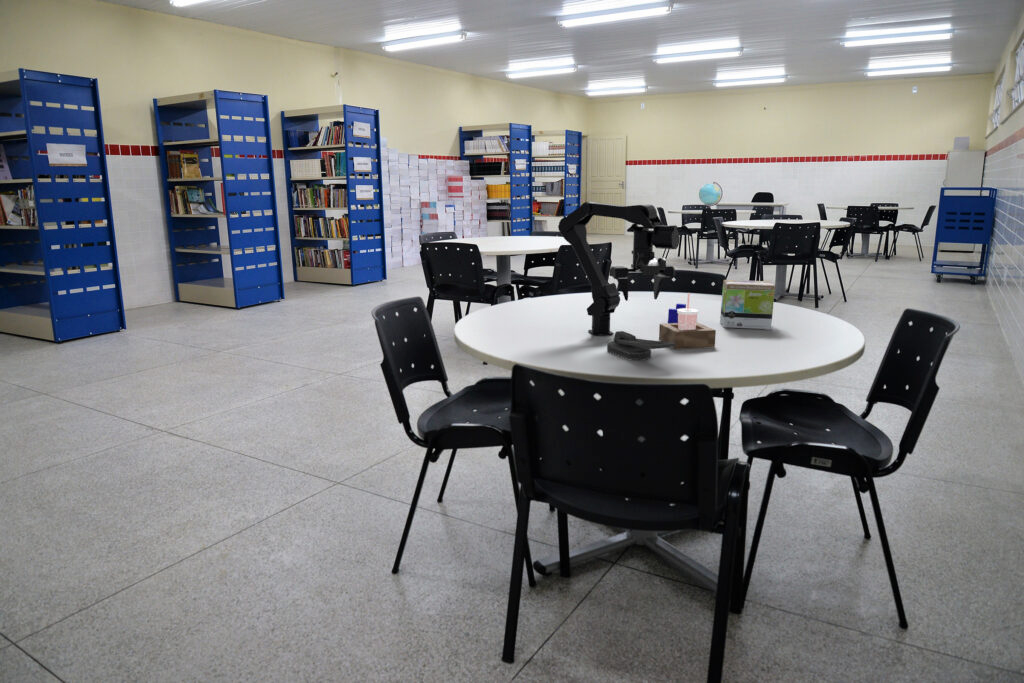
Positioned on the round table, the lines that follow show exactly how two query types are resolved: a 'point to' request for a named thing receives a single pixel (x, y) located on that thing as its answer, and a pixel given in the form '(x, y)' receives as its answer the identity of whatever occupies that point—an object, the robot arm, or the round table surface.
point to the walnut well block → (687, 336)
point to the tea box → (747, 304)
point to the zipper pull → (634, 346)
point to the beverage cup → (687, 317)
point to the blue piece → (674, 313)
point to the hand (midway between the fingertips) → (641, 299)
